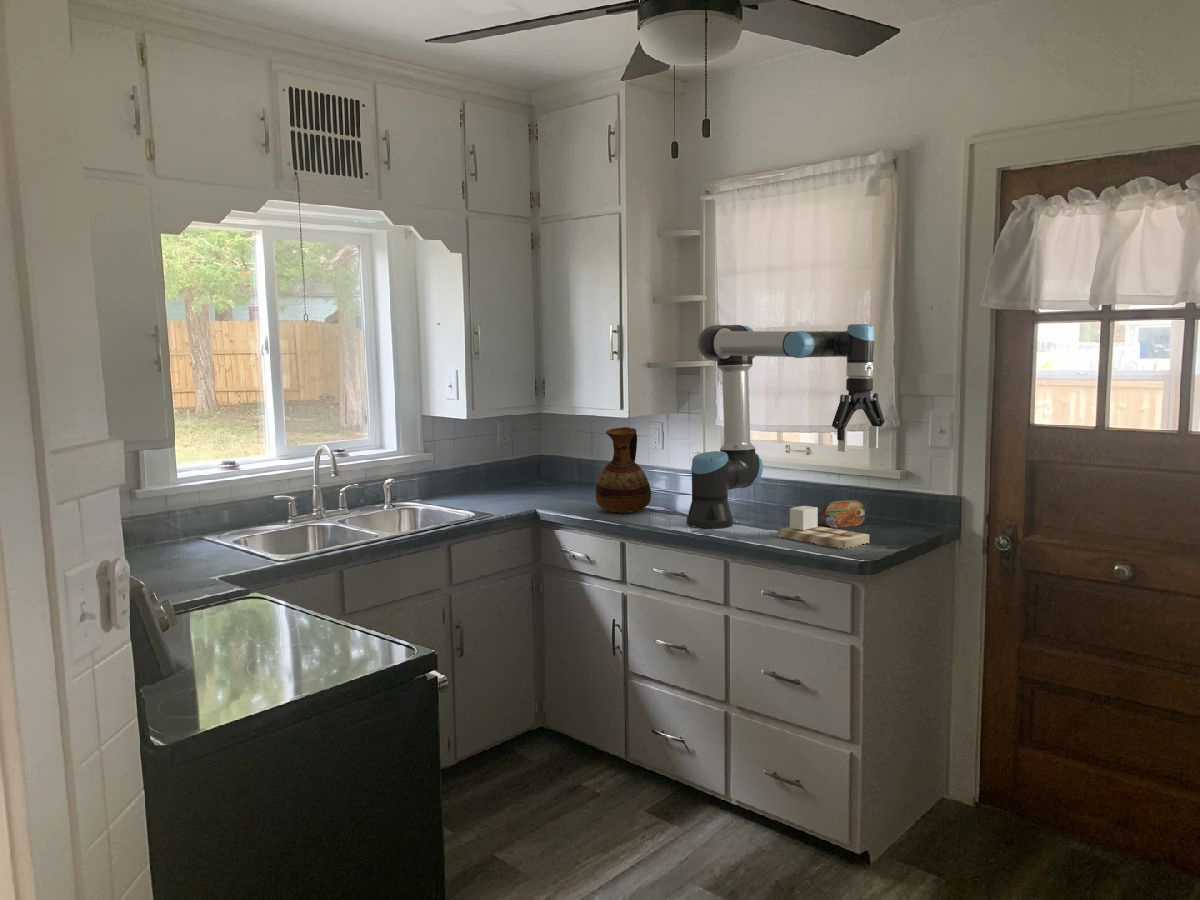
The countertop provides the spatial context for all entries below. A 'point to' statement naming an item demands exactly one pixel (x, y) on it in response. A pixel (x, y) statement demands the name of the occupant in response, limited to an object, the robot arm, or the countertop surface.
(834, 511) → the tin
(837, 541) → the beige flat block
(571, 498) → the countertop surface
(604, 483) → the ceramic pitcher
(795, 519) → the fader tab
